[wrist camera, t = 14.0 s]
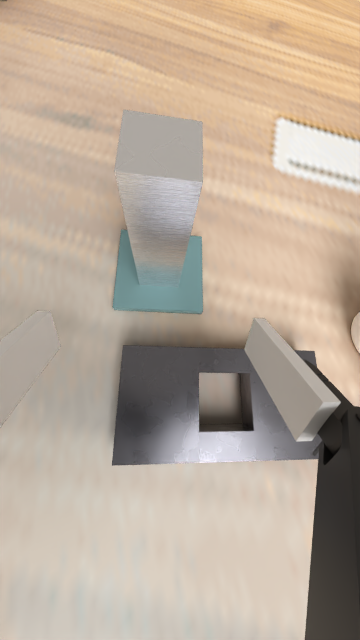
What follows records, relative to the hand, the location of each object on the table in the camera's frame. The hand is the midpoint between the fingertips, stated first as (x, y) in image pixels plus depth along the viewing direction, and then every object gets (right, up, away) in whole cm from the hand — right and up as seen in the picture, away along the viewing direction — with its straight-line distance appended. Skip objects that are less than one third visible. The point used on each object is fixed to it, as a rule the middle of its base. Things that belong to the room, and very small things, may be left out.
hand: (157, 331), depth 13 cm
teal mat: (-1, +7, +11) cm, 13 cm away
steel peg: (-1, +7, +10) cm, 12 cm away
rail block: (+6, -8, +8) cm, 12 cm away
